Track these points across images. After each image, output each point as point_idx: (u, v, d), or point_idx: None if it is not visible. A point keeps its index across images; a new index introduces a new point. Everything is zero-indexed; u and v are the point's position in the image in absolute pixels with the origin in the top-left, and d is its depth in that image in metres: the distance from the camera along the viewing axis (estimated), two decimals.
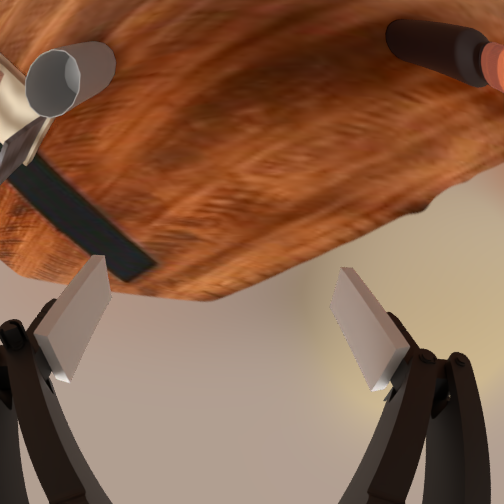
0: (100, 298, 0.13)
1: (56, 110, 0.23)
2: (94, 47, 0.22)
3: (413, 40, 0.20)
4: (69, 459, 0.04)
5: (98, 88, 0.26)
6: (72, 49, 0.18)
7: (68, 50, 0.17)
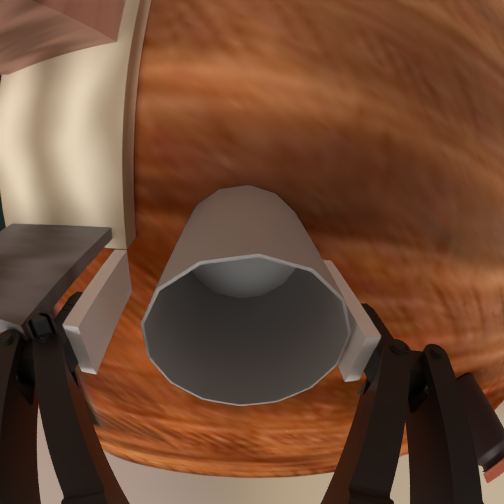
0: (122, 291, 0.14)
1: (174, 344, 0.13)
2: None
3: (470, 415, 0.25)
4: (90, 455, 0.04)
5: None
6: (339, 311, 0.12)
7: None
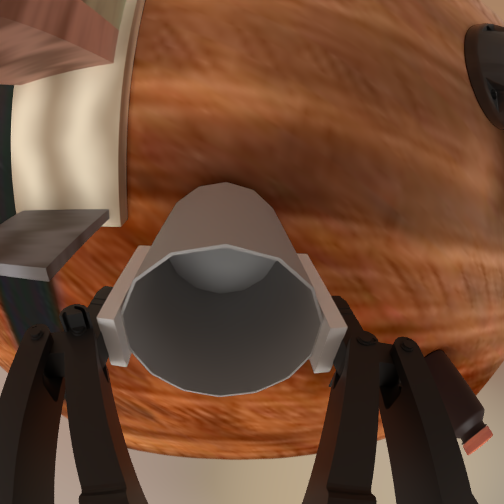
0: None
1: (154, 337, 0.13)
2: None
3: (443, 389, 0.31)
4: (115, 453, 0.05)
5: None
6: (312, 302, 0.12)
7: None
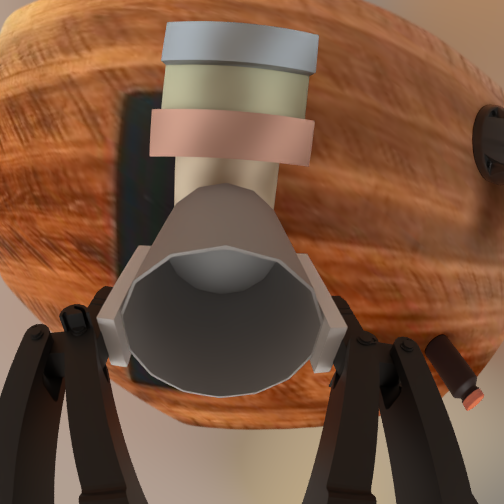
0: None
1: (154, 338, 0.13)
2: None
3: (446, 361, 0.45)
4: (115, 453, 0.05)
5: None
6: None
7: None
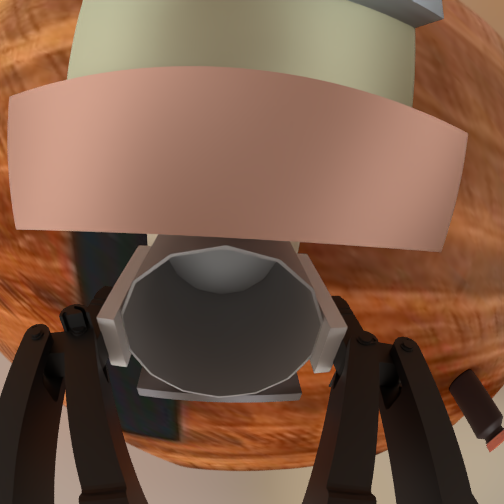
0: None
1: (154, 338, 0.13)
2: None
3: (472, 401, 0.34)
4: (115, 453, 0.05)
5: None
6: None
7: None
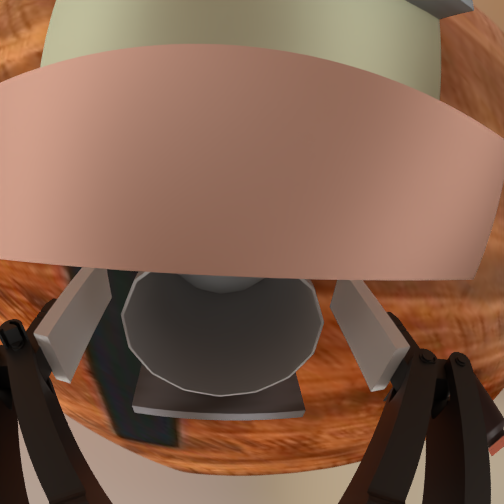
0: (100, 298, 0.13)
1: (155, 337, 0.13)
2: None
3: None
4: (69, 459, 0.04)
5: None
6: None
7: None
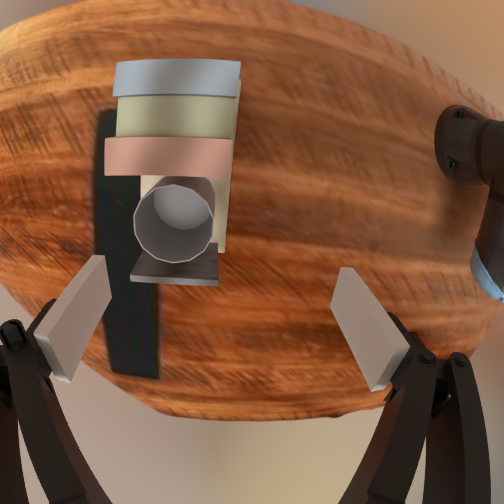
0: (100, 298, 0.13)
1: (145, 236, 0.29)
2: None
3: None
4: (69, 459, 0.04)
5: (183, 239, 0.34)
6: None
7: None
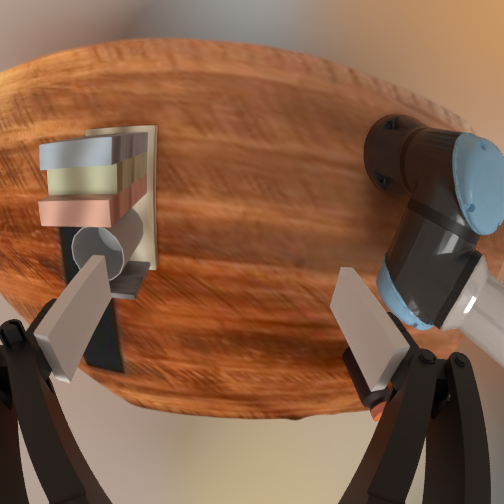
0: (100, 298, 0.13)
1: (85, 260, 0.35)
2: (136, 235, 0.39)
3: (357, 370, 0.55)
4: (69, 459, 0.04)
5: (117, 260, 0.41)
6: (126, 245, 0.35)
7: (124, 248, 0.34)
